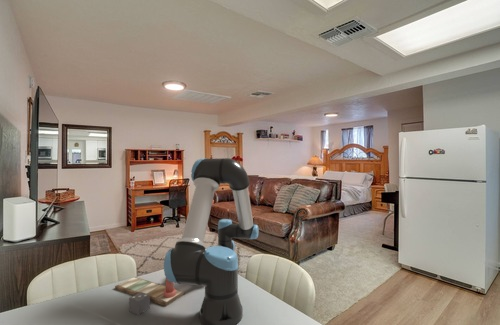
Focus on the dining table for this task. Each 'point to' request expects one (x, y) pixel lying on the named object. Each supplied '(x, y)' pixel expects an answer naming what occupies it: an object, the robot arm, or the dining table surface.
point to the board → (148, 290)
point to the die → (139, 303)
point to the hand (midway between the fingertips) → (185, 269)
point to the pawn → (169, 290)
